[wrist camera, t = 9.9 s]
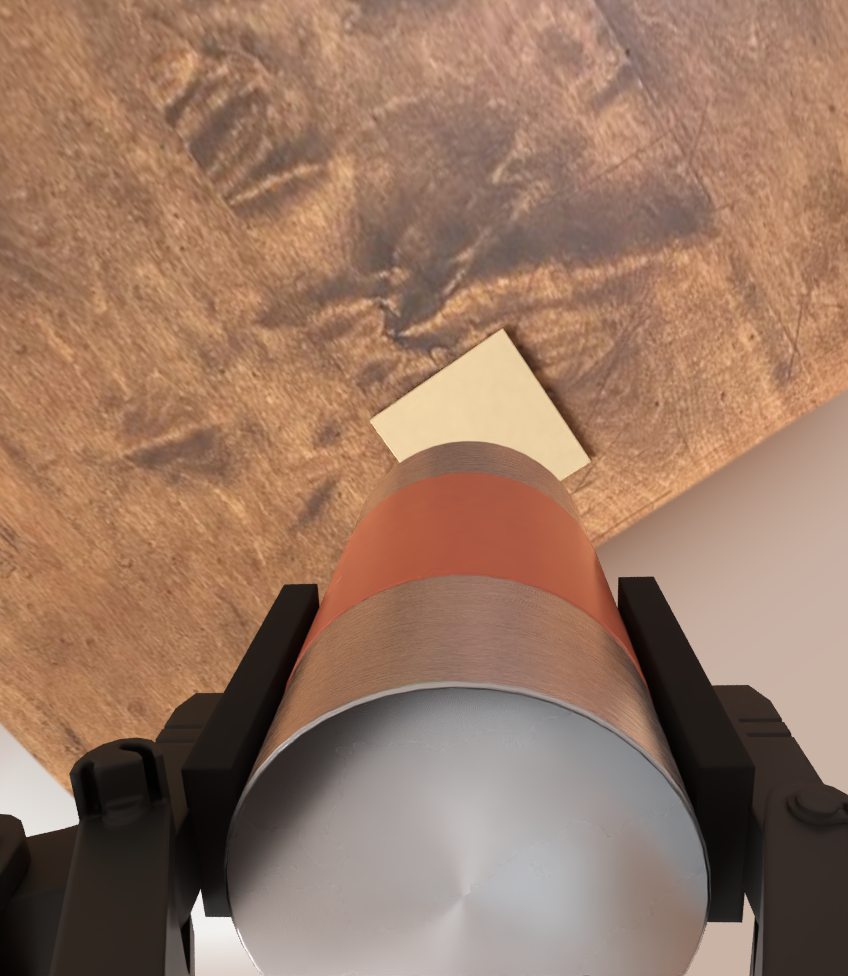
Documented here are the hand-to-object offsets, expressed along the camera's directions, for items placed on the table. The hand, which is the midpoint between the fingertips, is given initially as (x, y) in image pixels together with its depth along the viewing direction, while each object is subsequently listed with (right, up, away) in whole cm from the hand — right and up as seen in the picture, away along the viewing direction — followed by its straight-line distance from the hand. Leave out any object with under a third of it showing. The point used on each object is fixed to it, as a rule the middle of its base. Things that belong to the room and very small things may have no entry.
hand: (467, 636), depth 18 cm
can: (0, +2, +5) cm, 5 cm away
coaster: (+2, +6, +22) cm, 23 cm away
